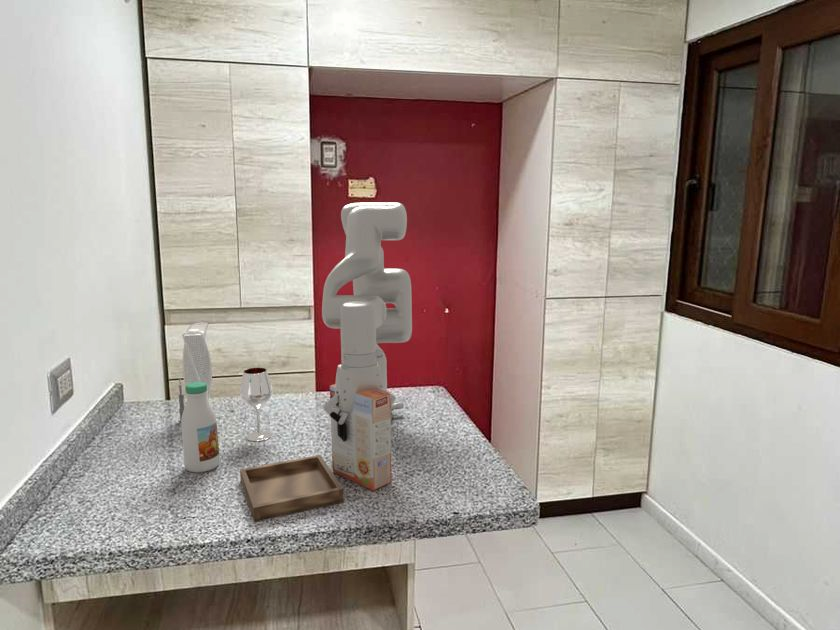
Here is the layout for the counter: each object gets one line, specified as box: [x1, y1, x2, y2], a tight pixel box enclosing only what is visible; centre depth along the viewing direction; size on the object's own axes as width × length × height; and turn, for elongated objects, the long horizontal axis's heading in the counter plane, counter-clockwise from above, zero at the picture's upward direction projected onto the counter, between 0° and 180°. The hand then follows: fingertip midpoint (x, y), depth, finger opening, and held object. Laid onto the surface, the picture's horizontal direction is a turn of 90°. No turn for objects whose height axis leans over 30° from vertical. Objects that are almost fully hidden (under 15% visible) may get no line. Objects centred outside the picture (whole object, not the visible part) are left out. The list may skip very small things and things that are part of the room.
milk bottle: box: [180, 382, 221, 473], centre depth 136 cm, size 8×8×20 cm
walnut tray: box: [239, 454, 345, 523], centre depth 126 cm, size 18×18×3 cm
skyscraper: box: [178, 321, 213, 423], centre depth 164 cm, size 8×8×28 cm
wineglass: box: [239, 367, 274, 442], centre depth 153 cm, size 8×8×18 cm
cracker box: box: [329, 383, 393, 491], centre depth 130 cm, size 14×6×21 cm, turn 47°
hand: (360, 435), depth 130 cm, fingers closed on cracker box, 7 cm apart
